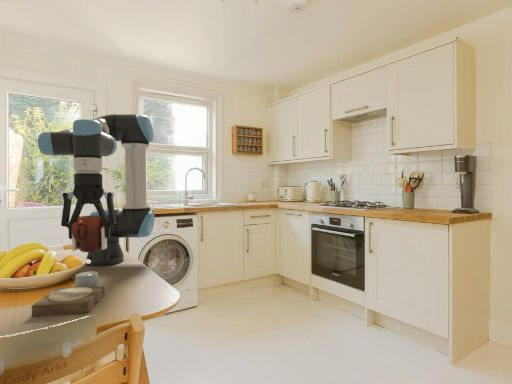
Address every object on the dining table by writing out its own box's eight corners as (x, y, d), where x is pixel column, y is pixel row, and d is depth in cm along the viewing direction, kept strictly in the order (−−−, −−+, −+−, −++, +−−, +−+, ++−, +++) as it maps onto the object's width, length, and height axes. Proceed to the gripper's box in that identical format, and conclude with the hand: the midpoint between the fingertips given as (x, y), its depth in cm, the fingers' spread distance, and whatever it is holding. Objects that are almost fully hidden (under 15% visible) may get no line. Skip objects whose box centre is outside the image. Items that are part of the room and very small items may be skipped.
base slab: (56, 297, 101) (56, 286, 100) (104, 295, 102) (104, 284, 102) (32, 316, 87) (31, 304, 87) (87, 313, 89) (87, 301, 88)
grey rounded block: (80, 283, 115) (80, 271, 115) (101, 282, 116) (101, 271, 116) (72, 289, 108) (71, 277, 108) (94, 288, 109) (94, 276, 109)
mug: (88, 247, 104) (88, 215, 104) (113, 247, 103) (113, 215, 102) (60, 255, 93) (59, 219, 92) (87, 256, 91) (87, 220, 91)
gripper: (45, 172, 92) (47, 253, 92) (121, 172, 95) (122, 250, 96) (56, 173, 99) (58, 248, 100) (126, 173, 102) (128, 245, 103)
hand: (90, 249), depth 98 cm, fingers closed on mug, 7 cm apart
